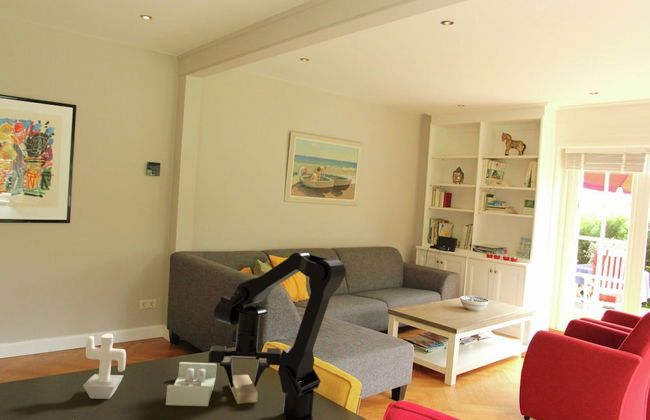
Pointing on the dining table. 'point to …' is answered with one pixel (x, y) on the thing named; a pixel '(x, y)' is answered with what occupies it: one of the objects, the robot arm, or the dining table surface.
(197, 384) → the pale green pegged panel
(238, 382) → the beige tapered block
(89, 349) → the figurine
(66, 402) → the dining table surface
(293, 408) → the robot arm
